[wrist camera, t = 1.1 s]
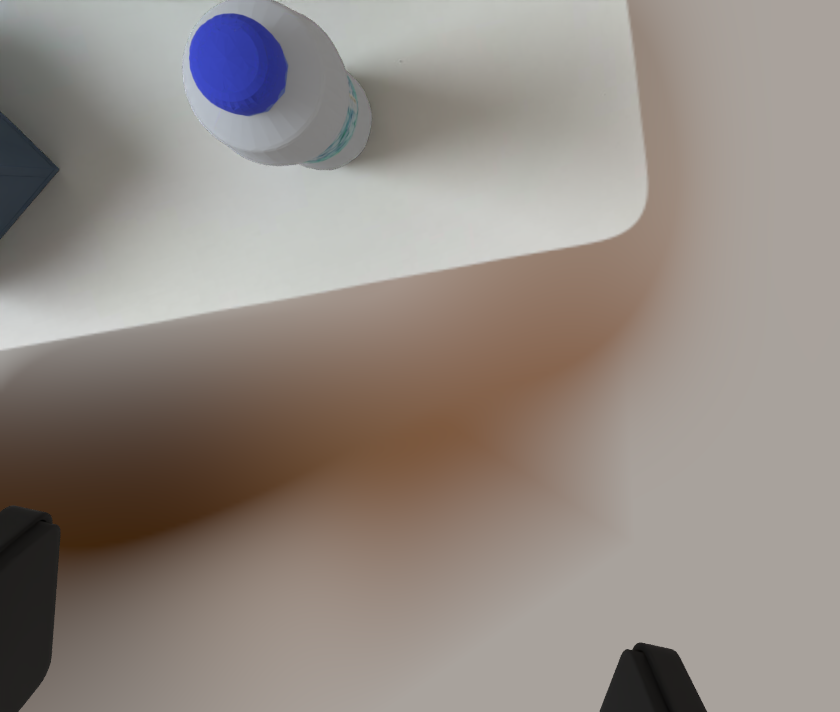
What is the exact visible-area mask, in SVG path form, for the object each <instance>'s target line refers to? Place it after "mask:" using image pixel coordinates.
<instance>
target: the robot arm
mask: <svg viewBox="0 0 840 712" xmlns="http://www.w3.org/2000/svg"><path fill="white" fill-rule="evenodd" d="M59 545H60V528H59V526H58V525H55V524H52V518H51V515H50V514H48V513H46V512H41V511H36V510H32V509H27V508H23V507H18V506H9V507H7V508H5V509H3V510H2V511H1V512H0V712H18V711H19V710H20V709H21V708H22V706H23V705H24V704H25V703H26V701H27V700H28V699H29V698H30V696H31V695H32V694H33V693H34V692H35V690H36V689H37V688H38V687H39V685H40V683H41V682H42V681H43V679H44V677H45V676H46V673H47V671H48V669H49V666H50V663H51V656H52V642H53V629H54V615H55V600H56V587H57V573H58V559H59ZM600 712H707V711H706V709H705V707H704V705H703V703H702V701H701V699H700V697H699V695H698V693H697V691H696V689H695V687H694V685H693V683H692V681H691V679H690V677H689V675H688V673H687V671H686V669H685V667H684V665H683V663H682V661H681V659H680V657H679V655H678V654H677V652H676V651H674V650H672V649H668V648H664V647H659V646H654V645H650V644H645V643H637V644H636V645H635V646H634V648H633V650H629V649H626V650H625V651H624V652H623V653H622V655H621V657H620V660H619V663H618V665H617V668H616V670H615V673H614V675H613V678H612V681H611V683H610V686H609V688H608V691H607V693H606V696H605V699H604V701H603V704H602V707H601V709H600Z"/></svg>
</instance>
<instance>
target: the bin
mask: <svg viewBox="0 0 840 712" xmlns="http://www.w3.org/2000/svg"><path fill="white" fill-rule="evenodd" d="M58 170H59V168H58V167H57V166H56V165H55V164H54V163H53V162H52V161H51V160H50V159H49V158H48V157H47V156H46V155H45V154H43V153H42V152H41V151H40V150H39V149H38V148H37V147H36V146H35V145H34V144H33V143H32V142H31V141H30V140H29V139H28V138H27V137H26V136H25V135H24V134H23V133H22V132H21V131H20V130H19V129H18V128H17V127H16V126H15V125H14V124H13V123H12V122H11V121H10V120H9V119H8V118H7V117H6V116H5V115H3V114H2V113H1V112H0V239H1V238H2V236H3V235H4V234H5V233H6V232H7V231H8V229H9V228H10V227H11V226H12V225H13V224H14V222H15V221H16V220H17V219H18V218H19V216H20V215H21V214H22V213H23V212H24V211H25V209H26V208H27V207H28V206H29V205H30V203H31V202H32V201H33V200H34V199H35V198H36V196H37V195H38V194H39V193H40V192H41V191H42V189H43V188H44V187H45V186H46V185H47V183H48V182H49V181H50V180H51V179H52V178H53V176H54V175H55V174H56V173H57V172H58Z"/></svg>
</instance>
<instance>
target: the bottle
mask: <svg viewBox="0 0 840 712" xmlns="http://www.w3.org/2000/svg"><path fill="white" fill-rule="evenodd" d="M182 70H183V83H184V88H185V92H186V96H187V99H188V101H189V103H190V106H191V108H192V110H193V112H194V114H195V115H196V117H197V118H198V120H199V121H200V123H201V124H202V125H203V126H204V127H205V129H206V130H207V131H208V132H209V133H210V134H212V135H213V136H214V137H215V138H217V139H218V140H219V141H221V142H222V143H224V144H225V145H227V146H228V147H230V148H231V149H232V150H233V151H234V152H236V153H237V154H239V155H241V156H242V157H244V158H246V159H248V160H251V161H253V162H256V163H260V164H264V165H272V166H284V165H285V166H288V165H296V164H300V165H302V166H305V167H307V168H312V169H316V170H333V169H337V168H339V167H341V166H344V165H346V164H348V163H349V162H350V161H352V160H353V159H355V158H356V157H357V156H358V155H359V154H361V152H362V151H363V149H364V148H365V146H366V143H367V140H368V137H369V134H370V129H371V123H372V112H371V108H370V104H369V101H368V99H367V96H366V94H365V92H364V90H363V88H362V87H361V85H360V84H359V83H358V81H357V80H356V79H355V78H354V77H353V76H352V75H351V74H350V73H349V72H347V71H346V70H345V66H344V64H343V62H342V59H341V57H340V55H339V53H338V51H337V49H336V47H335V46H334V44H333V42H332V41H331V39H330V38H329V37H328V35H327V34H326V33H325V32H324V31H323V30H322V29H321V28H320V27H319V26H318V25H317V24H316V23H315V22H313V21H312V20H311V19H309V18H308V17H306V16H304V15H303V14H300V13H298V12H296V11H294V10H291V9H290V8H288V7H286V6H284V5H282V4H280V3H278V2H276V1H273V0H226V1H224V2H222V3H220V4H218V5H216V6H214V7H213V8H212V9H210V10H209V11H208V12H207V13H205V14H204V15H203V17H202V18H201V19H200V20H199V21H198V23H197V24H196V25H195V26H194V28H193V30H192V32H191V34H190V36H189V38H188V41H187V43H186V46H185V50H184V54H183V65H182Z"/></svg>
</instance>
